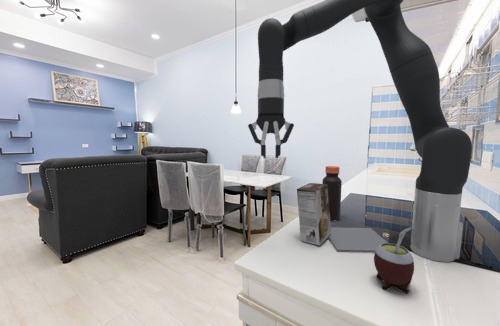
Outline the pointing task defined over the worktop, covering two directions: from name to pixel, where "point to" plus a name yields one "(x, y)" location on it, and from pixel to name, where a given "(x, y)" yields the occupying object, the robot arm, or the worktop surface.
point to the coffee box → (314, 213)
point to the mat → (355, 239)
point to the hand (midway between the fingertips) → (270, 157)
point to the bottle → (333, 191)
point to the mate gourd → (394, 264)
